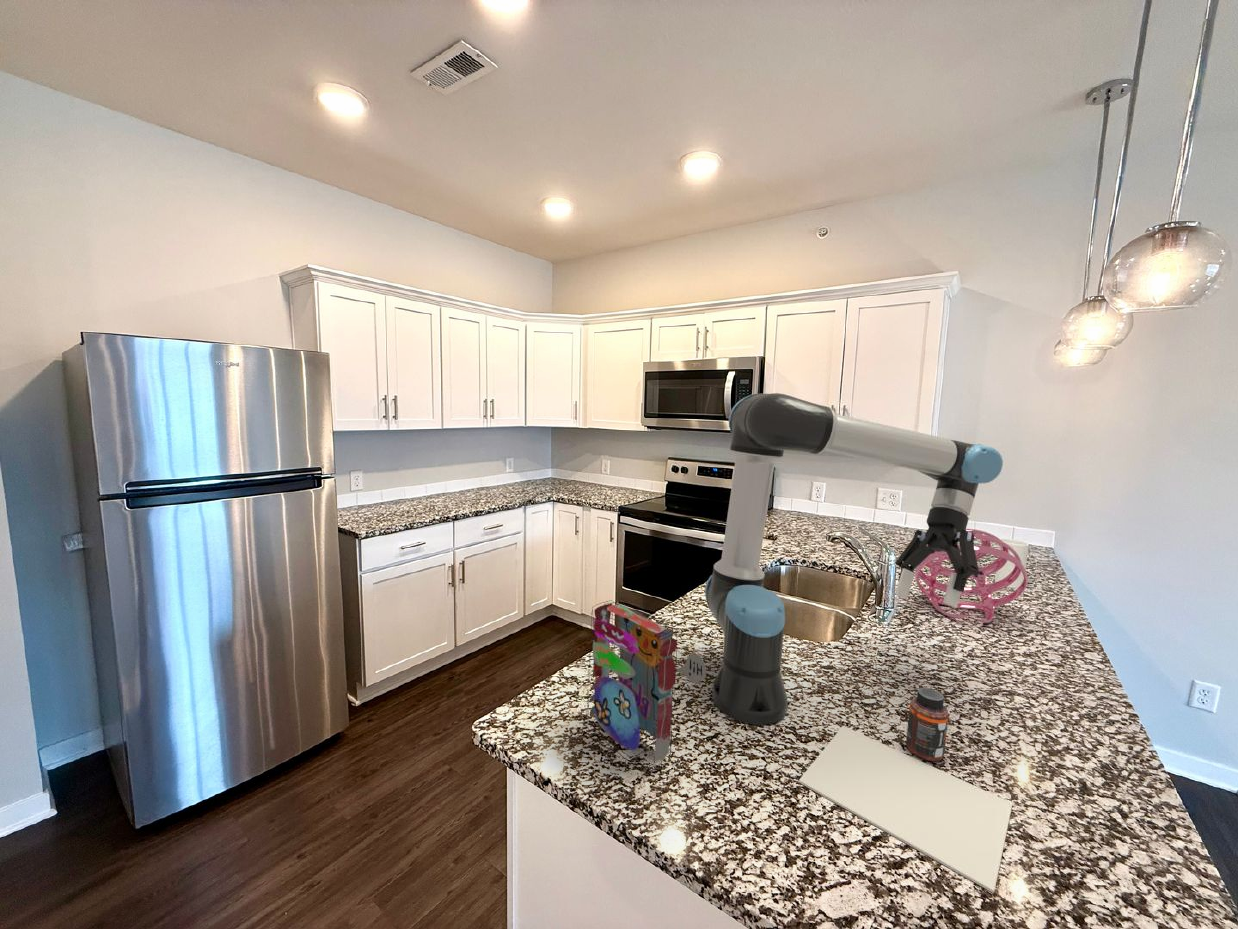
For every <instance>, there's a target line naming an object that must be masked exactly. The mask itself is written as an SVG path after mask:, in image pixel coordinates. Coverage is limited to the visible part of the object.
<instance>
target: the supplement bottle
mask: <svg viewBox="0 0 1238 929" xmlns="http://www.w3.org/2000/svg"><path fill="white" fill-rule="evenodd" d="M944 701H945V697H944V696H943V694H942V693H941V692H939V691H938V690H935V689H933V688H929V687H920V688H918V690H917V694H916V697H914V698H912V699H911V700H910V704H909V710H908V718H907V719H908V721H907V731H906V738H905V739H906V740H905V742H906V744H905V745H906V747H907V748H908V751H910V752H911V753H912V754H913V755H915V756H916V757H918V758H920V759H922V760H925V761H929V762H940V761H942V759H944V757H945V751H946V741H947V731H948V726H949V724H948V723H949V717H950V716H949V711H948V709H947V708H946V707H945V705H944V704H945V703H944Z"/></svg>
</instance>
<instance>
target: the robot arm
mask: <svg viewBox="0 0 1238 929" xmlns="http://www.w3.org/2000/svg"><path fill="white" fill-rule="evenodd" d="M728 427H729V430H730V434H731V441H730V448H729V451H730V453H731V454H732V455H733V457H734V460H735V461H734V469H733V473H732V474H733V475H732V481H731V490H730V496H729V502H728V503H729V504H728V510H727V517H726V523H725V531H724V539H723V545H722V553H721V558H720V559H719V560H718V561H717V562H715V563H714V564H713V569H712V574H711V575H710V576H709V578H708V579H707V582H706V584H705V590H704V594H705V601H706V604H707V607H708V609H709V610H710V613H712V616H714V618H715V619H716V621H717V623H718V625H719V626H720V628H721V630H722V631H723V651H722V654H723V655H722V656H723V657H722V663H721V665H720V668H719V671H718V673H717V675H716V677H715V680H714V682H713V685H712V686H713V687H712V701H713V703H714V705H715V707H716V708H717V709H718V710H719V711H720V712H722V713H723V714H724V715H726V716H727V717H728V718H731V719H733V720H736V721H738V722H742V723H746V724H749V725H756V726H757V725H759V726H760V725H763V726H764V725H771V724H774V723H777V722H779V721H781V720H782V719H783V718H785V716H786V715H787V711H788V697H787V692H786V688H785V684H784V680H783V678H782V672H781V668H782V657H783V656H782V654H783V644H784V633H785V632H784V631H785V623H786V614H785V604H784V602H783V600H782V598H781V597H780V596H779V595H777V594H776V593H775V592H774V591H772V590H770V589H769V590H768V589H766V588H765V587H764V583H765V581H764V580H765V577H766V576H765V575H766V574H765V572H764V571H763V569H762V568H761V566H760V561H761V554H762V550H763V549H762V547H763V543H764V537H765V536H764V535H765V529H766V522H767V517H768V508H769V503H770V498H771V497H770V496H771V490H772V489H771V488H772V483H773V477H774V476H773V475H774V469H775V465H776V464H777V462H779V461H780V460H781V459H783V458H784V457H783V456H784V452H785V451H791V452H802V453H803V452H804V453H808V454H814V455H819V454H821V453H823V452H829V453H833V454H837V455H843V456H847V457H851V458H857V459H861V460H867V461H872V462H876V463H881V464H885V465H890V466H895V467H899V468H905V469H908V470H909V469H910V470H914V471H916V472H919V473H921V474H923V475H925V476H927V477H930V478H931V479H932V480H935V481H936V482H937V483H936V487H935V491H934V494H933V497H932V501H931V503H930V507H931V508H930V509H929V512H928V514H927V518H926V523H927V526H928V528H927V529H926V530H927V531H922V530H919V529H917V530H915V532H914V534H913V538H912V539H911V540H910V541H909V543H908V545H907V546H906V547H905V548H904V550H903V552H902V553H901V554H900V556H899V557H898V559H897V560H896V561H895V566H898V567H899V568H901V569H900V572H899V576H898V579H897V582H898V583H897V586H896V589H895V593H894V595H895V596H897V597H900V598H902V599H904V600H908V598H909V594H910V592H911V591H910V590H911V587H912V584H913V581H914V579H915V568H916V567H917V566H918V565H919V564H920V563H921V562H922V561H923V560H925V559H926V558H927V557H928V556H929V555H930V554H933V553H935V552H941V551H944V552H947V554H948V556H949V558H950V560H949V561H950V562H951V564H952V567H953V569H952V570H953V571H954V570H955V571H954V572H956V573H957V574H955V573H951V576H950V577H949V580H948V582H947V585H948V586H947V590H946V592H945V593H944V597H943V598H944V601H943V603H945V604H947V605H950V606H952V607H951V608H955V609H958V608H957V606H958V603H959V602H960V598H961V596H962V595H961V592H963V591H964V589H965V587H966V585H967V581H968V579H970V578H969V577H970V576H971V575H975V576H977V575H978V574H979V569H978V566H979V565H978V560H977V559H976V554H975V549H974V545H975V544H974V542H975V539H974V536H975V535H974V534H972V533H970V532H968V531H966V529H967V528H968V527H967V526H968V522H969V519H970V518H969V517H968V516H970V515H971V512H972V508H973V504H974V501H975V496H976V493H977V490H978V487H979V485H980V484H981V485H982V484H988V483H991V482H993V481H994V480H996V479H997V478H998V477H999V476H1000V474H1001V471H1002V468H1003V465H1004V464H1003V463H1004V461H1003V456H1002V455H1001V453H1000V452H999V450H997V449H996V448H994V447H992V446H989V445H984V444H980V443H977V444H974V443H968V442H963V441H958V440H954V439H950V438H945V437H942V436H941V437H940V436H937V435H933V434H927V433H924V432H919V431H914V430H911V429H905V428H900V427H896V426H892V425H888V424H883V423H879V422H874V421H869V420H863V419H861V418H855V417H851V416H846V415H842V414H837V413H835V412H834V410H833V409H832V408H831V407H829V406H826V405H821V404H817V403H813V402H810V401H807V400H804V399H802V398H798V397H794V396H793V395H788V394H784V393H779V392H775V393H774V392H773V393H772V392H771V393H754V394H749V395H748V396H745V397H743V398H742V399H740V400H739V401H738V402H736V403H735V405H734V406H733V407H732V408H731V411H730V413H729V416H728ZM927 544H928V546H926V545H927ZM958 545H960V549H959V547H958ZM960 550H961V551H960ZM960 552H961V553H960ZM947 605H946V606H947ZM950 606H949V607H950Z"/></svg>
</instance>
